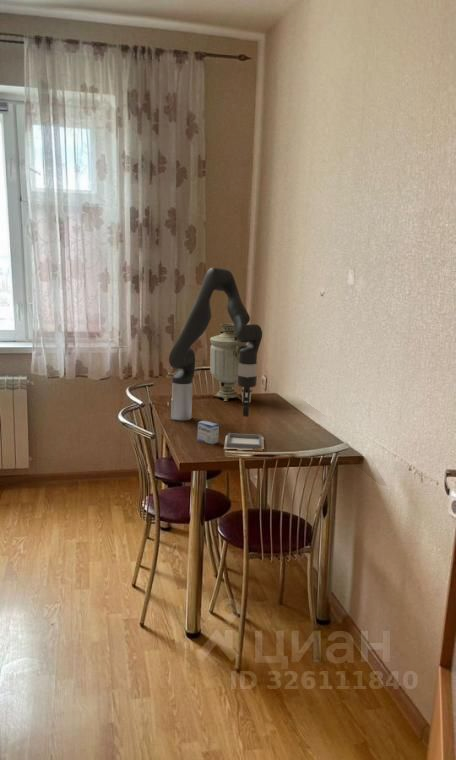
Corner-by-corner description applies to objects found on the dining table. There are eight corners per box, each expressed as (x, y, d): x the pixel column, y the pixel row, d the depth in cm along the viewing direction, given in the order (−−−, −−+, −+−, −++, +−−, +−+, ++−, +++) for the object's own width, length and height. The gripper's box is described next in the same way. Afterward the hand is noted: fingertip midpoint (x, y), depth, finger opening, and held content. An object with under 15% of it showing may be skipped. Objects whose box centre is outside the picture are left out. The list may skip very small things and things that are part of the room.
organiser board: (223, 451, 242) (223, 444, 242) (225, 438, 259) (226, 431, 258) (263, 453, 242) (264, 446, 241) (263, 439, 258) (263, 433, 258)
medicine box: (196, 442, 252) (197, 422, 250) (203, 439, 256) (204, 419, 254) (211, 446, 248) (212, 425, 246) (218, 443, 251) (219, 423, 249)
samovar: (264, 404, 317) (268, 328, 308) (216, 406, 310) (218, 328, 301) (246, 391, 345) (249, 320, 336) (201, 392, 337) (203, 320, 329)
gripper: (238, 370, 251) (237, 408, 255) (237, 377, 237) (236, 418, 241) (256, 371, 251) (255, 409, 254) (256, 378, 237) (255, 418, 240)
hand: (245, 413), depth 247 cm, fingers open, 7 cm apart
